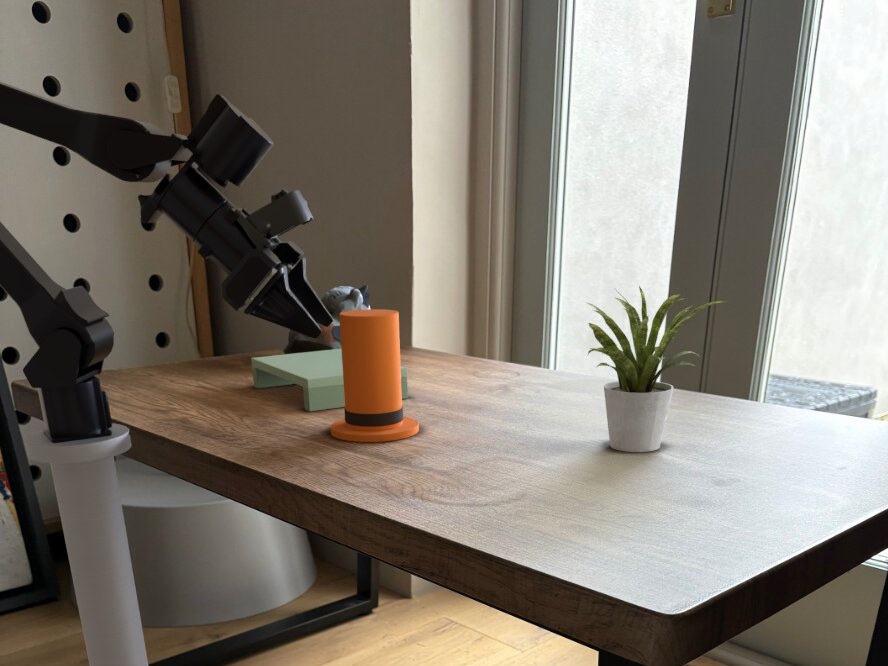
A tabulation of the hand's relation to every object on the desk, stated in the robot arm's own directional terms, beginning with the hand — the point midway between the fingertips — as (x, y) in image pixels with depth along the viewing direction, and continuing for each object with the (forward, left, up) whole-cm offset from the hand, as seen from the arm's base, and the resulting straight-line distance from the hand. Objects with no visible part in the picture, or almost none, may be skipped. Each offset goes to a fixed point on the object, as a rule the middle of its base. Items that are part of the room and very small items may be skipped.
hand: (325, 329), depth 101 cm
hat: (+4, -3, -11) cm, 12 cm away
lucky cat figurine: (+20, +45, -11) cm, 51 cm away
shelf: (+9, +21, -11) cm, 26 cm away
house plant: (+25, -25, -11) cm, 37 cm away
